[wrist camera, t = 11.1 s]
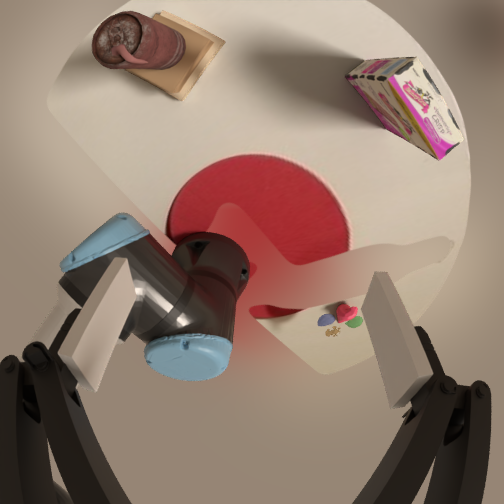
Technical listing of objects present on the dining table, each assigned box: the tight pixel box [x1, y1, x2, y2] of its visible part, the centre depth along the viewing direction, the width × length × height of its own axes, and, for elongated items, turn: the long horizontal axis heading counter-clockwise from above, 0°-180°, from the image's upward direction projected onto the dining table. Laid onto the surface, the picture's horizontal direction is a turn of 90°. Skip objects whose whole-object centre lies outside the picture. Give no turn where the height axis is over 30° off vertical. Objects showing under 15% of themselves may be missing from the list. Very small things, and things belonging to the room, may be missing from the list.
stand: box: [125, 11, 225, 101], centre depth 31 cm, size 11×11×5 cm
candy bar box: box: [345, 57, 464, 161], centre depth 29 cm, size 11×5×16 cm, turn 45°
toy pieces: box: [318, 304, 363, 337], centre depth 60 cm, size 12×11×4 cm
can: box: [92, 11, 186, 70], centre depth 23 cm, size 6×6×14 cm
